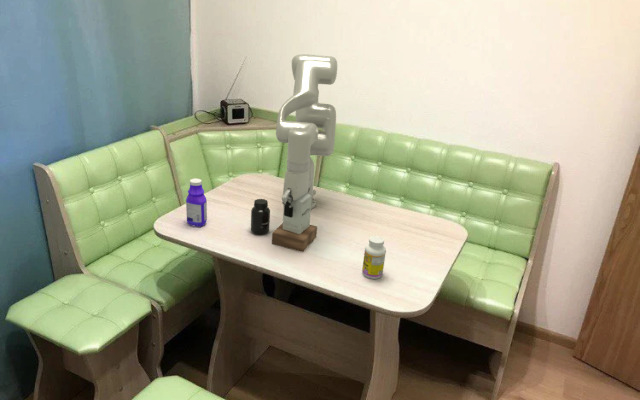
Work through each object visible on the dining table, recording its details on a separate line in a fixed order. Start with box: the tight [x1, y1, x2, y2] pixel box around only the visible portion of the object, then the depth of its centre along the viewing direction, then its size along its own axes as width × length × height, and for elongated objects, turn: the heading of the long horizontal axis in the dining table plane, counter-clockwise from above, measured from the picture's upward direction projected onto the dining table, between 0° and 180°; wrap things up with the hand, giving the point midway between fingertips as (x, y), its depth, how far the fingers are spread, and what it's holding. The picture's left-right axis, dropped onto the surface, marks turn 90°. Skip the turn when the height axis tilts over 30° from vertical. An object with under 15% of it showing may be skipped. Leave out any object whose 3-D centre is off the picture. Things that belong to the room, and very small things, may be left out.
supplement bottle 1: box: [250, 198, 271, 236], centre depth 178 cm, size 7×7×12 cm
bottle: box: [185, 178, 208, 227], centre depth 179 cm, size 7×6×17 cm
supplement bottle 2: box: [361, 235, 387, 280], centre depth 156 cm, size 7×7×13 cm
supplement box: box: [282, 194, 312, 234], centre depth 172 cm, size 7×7×13 cm
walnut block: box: [271, 222, 318, 253], centre depth 175 cm, size 12×12×5 cm
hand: (295, 211), depth 171 cm, fingers open, 9 cm apart
